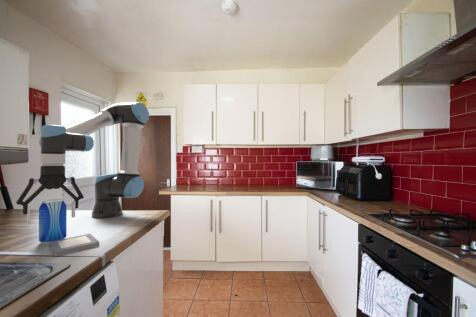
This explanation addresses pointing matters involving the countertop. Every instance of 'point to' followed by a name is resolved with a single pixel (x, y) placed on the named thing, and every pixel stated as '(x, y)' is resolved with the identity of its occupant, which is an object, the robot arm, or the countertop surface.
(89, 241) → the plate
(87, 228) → the countertop surface
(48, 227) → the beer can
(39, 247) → the countertop surface
